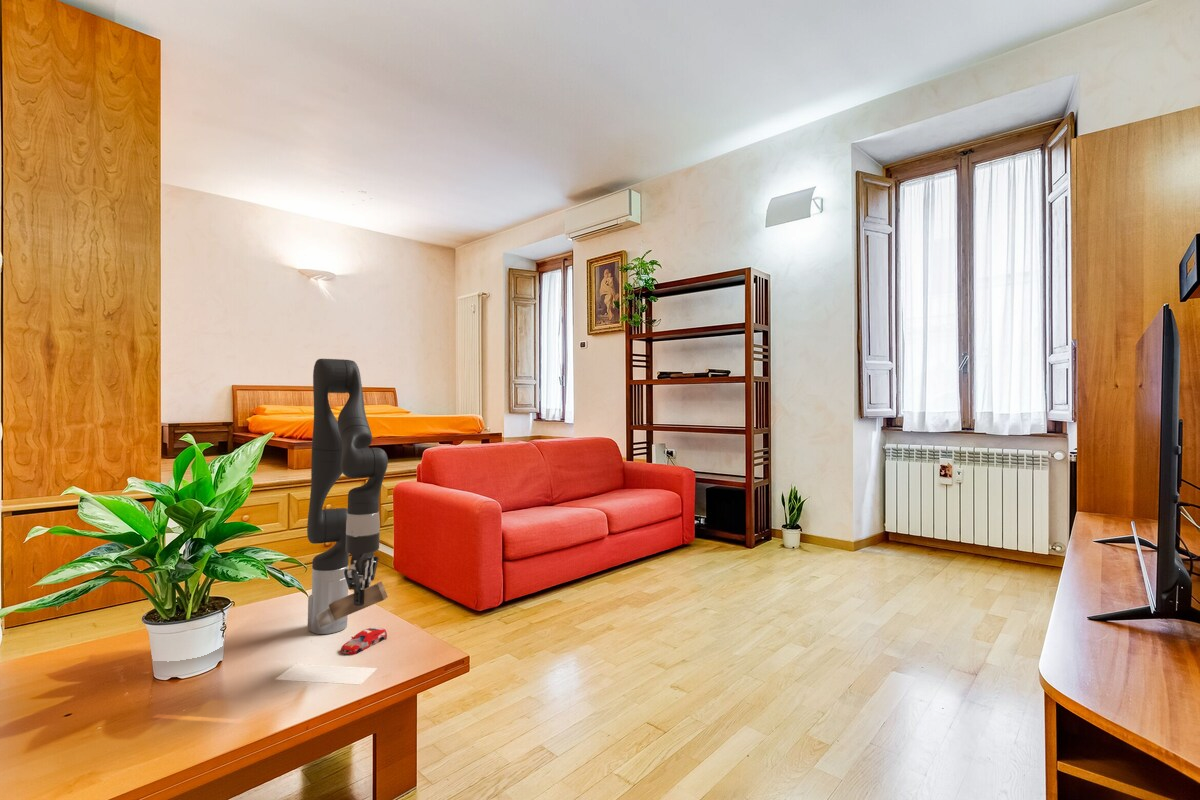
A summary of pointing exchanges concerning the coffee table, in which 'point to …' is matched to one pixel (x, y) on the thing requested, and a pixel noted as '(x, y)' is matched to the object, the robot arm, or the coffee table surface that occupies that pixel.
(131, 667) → the coffee table surface
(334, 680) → the pad
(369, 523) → the robot arm
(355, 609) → the brown and gray block
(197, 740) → the coffee table surface
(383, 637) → the race car
